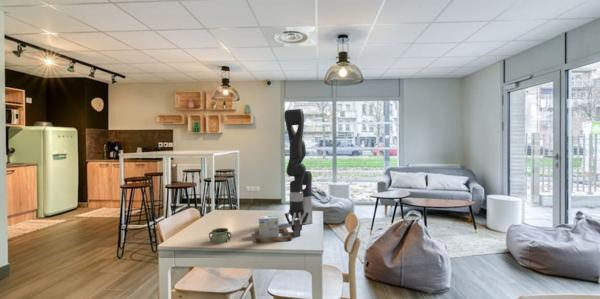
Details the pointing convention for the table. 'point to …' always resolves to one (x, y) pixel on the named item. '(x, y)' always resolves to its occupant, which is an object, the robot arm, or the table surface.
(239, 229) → the table surface
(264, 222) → the light bulb box
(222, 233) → the vessel
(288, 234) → the pull frame
